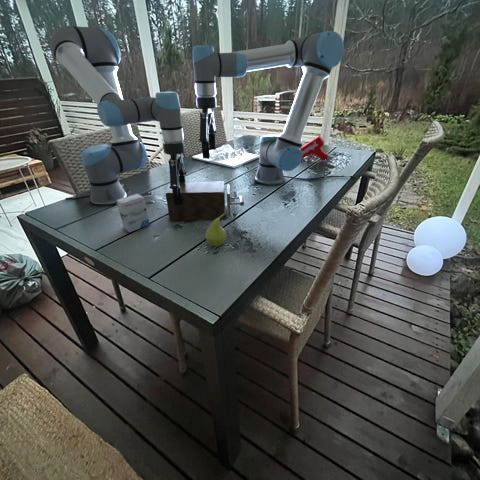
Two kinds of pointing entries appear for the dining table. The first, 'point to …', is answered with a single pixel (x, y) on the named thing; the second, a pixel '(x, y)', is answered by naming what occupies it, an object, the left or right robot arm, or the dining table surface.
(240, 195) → the drawer
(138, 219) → the ink box
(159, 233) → the dining table surface
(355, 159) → the dining table surface
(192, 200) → the cabinet
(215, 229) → the fruit
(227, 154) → the relief map
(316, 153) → the toy gun
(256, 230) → the dining table surface
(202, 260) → the dining table surface
